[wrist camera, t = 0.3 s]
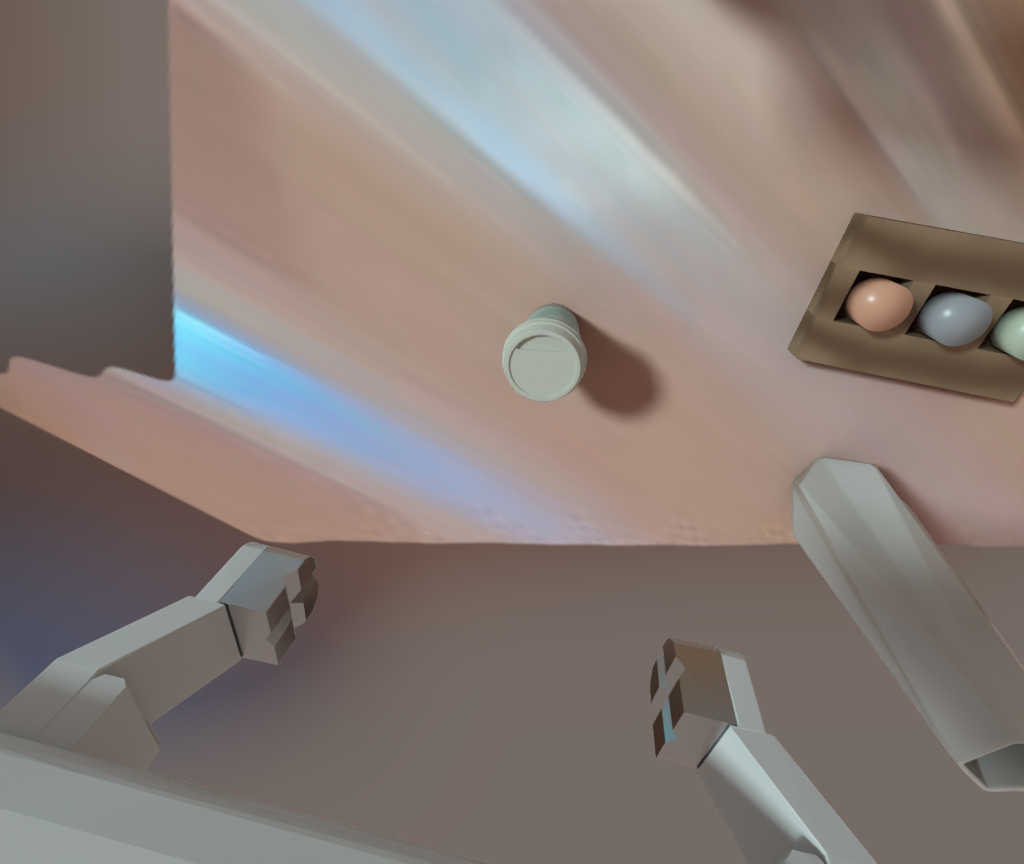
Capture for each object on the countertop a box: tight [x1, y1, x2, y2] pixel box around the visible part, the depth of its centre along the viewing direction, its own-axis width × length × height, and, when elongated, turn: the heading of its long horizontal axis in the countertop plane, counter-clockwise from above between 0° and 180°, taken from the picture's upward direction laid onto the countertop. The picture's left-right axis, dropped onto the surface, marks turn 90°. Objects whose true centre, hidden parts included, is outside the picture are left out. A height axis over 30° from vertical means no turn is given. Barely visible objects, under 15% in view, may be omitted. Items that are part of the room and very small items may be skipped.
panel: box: [788, 213, 1024, 402], centre depth 47 cm, size 14×22×3 cm, turn 81°
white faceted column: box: [792, 457, 1024, 792], centre depth 46 cm, size 12×12×33 cm
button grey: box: [916, 291, 993, 346], centre depth 45 cm, size 4×4×3 cm
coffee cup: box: [502, 304, 587, 402], centre depth 51 cm, size 8×8×12 cm
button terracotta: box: [844, 277, 913, 332], centre depth 45 cm, size 4×4×3 cm
